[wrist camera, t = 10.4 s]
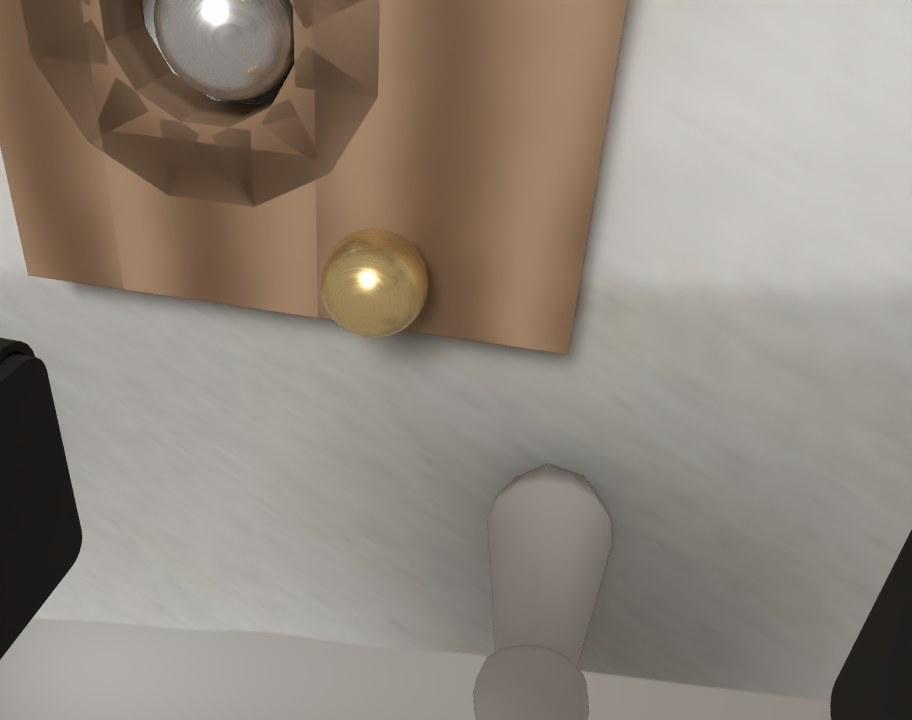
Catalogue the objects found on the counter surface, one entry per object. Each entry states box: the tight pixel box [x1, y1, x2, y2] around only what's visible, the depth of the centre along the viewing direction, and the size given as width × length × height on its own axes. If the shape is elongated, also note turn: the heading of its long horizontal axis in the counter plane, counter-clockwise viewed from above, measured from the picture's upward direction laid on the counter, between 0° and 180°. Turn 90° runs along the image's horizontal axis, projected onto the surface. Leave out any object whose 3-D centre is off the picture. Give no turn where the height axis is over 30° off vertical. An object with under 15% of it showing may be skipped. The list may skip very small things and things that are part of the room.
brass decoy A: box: [319, 229, 428, 338], centre depth 32 cm, size 4×4×4 cm
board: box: [0, 0, 627, 354], centre depth 31 cm, size 23×22×3 cm
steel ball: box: [154, 0, 294, 100], centre depth 30 cm, size 5×5×5 cm
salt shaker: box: [473, 464, 612, 720], centre depth 36 cm, size 6×6×13 cm
